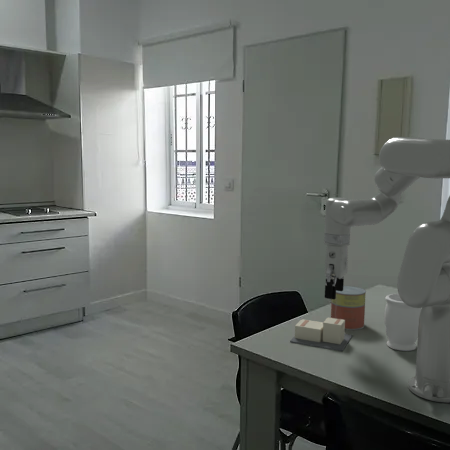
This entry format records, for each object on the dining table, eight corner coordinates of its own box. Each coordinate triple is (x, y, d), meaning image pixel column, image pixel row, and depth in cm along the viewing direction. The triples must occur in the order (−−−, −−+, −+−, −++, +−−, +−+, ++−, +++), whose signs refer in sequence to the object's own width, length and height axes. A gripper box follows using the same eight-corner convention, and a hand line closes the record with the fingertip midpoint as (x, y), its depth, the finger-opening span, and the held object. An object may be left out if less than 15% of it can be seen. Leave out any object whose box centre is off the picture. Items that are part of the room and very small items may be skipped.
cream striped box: (320, 342, 151) (321, 329, 150) (294, 338, 155) (295, 325, 154) (326, 335, 157) (327, 322, 157) (301, 331, 161) (301, 318, 160)
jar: (396, 354, 143) (398, 303, 141) (376, 341, 153) (378, 294, 151) (427, 350, 146) (430, 301, 144) (406, 338, 156) (408, 292, 154)
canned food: (367, 322, 172) (368, 288, 170) (360, 331, 162) (361, 296, 160) (335, 317, 177) (336, 284, 175) (326, 326, 167) (327, 291, 165)
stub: (340, 344, 149) (341, 324, 148) (322, 341, 151) (323, 322, 151) (344, 338, 154) (345, 319, 153) (327, 335, 156) (327, 317, 156)
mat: (342, 351, 145) (342, 349, 145) (290, 342, 152) (290, 340, 152) (352, 336, 158) (352, 334, 158) (303, 328, 165) (303, 327, 165)
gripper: (342, 245, 139) (339, 303, 142) (355, 236, 155) (352, 289, 157) (316, 242, 143) (314, 300, 145) (331, 233, 158) (329, 286, 161)
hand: (334, 294), depth 151 cm, fingers open, 9 cm apart
